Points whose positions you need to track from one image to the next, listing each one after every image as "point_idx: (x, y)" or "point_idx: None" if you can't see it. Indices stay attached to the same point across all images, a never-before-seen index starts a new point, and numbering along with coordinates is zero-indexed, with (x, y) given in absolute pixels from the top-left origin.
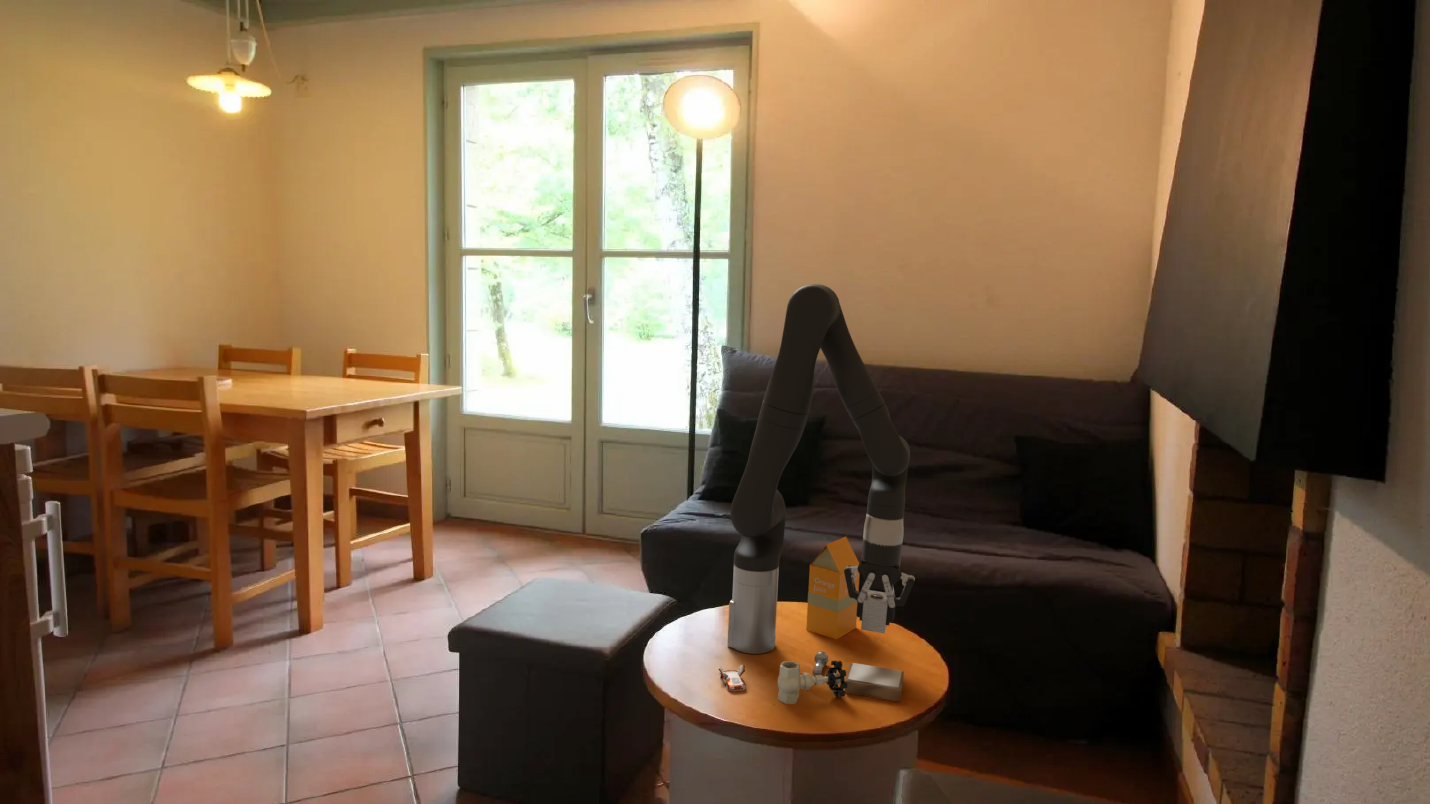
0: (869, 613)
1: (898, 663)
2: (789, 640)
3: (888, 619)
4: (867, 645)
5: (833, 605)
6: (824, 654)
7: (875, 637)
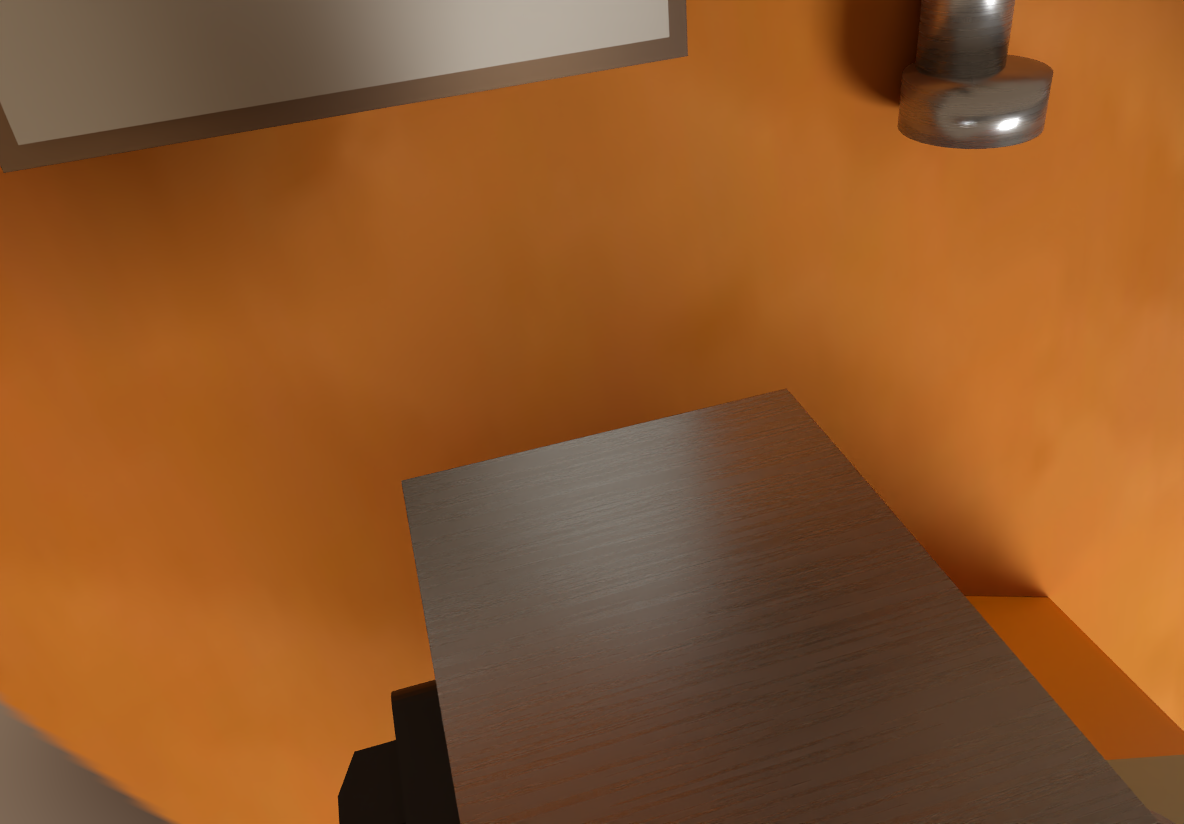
0: (818, 627)
1: (278, 516)
2: (1166, 385)
3: (423, 765)
4: None
5: None
6: (986, 94)
7: None
